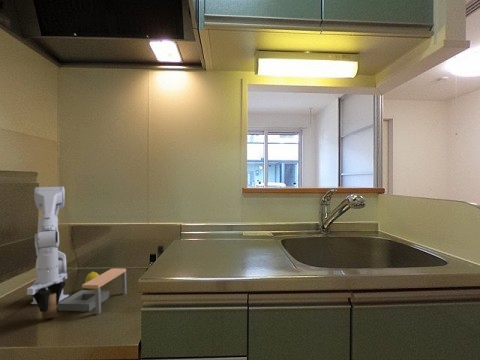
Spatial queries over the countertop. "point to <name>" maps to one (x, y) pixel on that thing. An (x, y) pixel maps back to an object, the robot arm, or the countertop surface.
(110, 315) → the countertop surface
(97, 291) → the orange bridge
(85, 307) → the socket
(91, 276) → the lemon
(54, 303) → the peg
